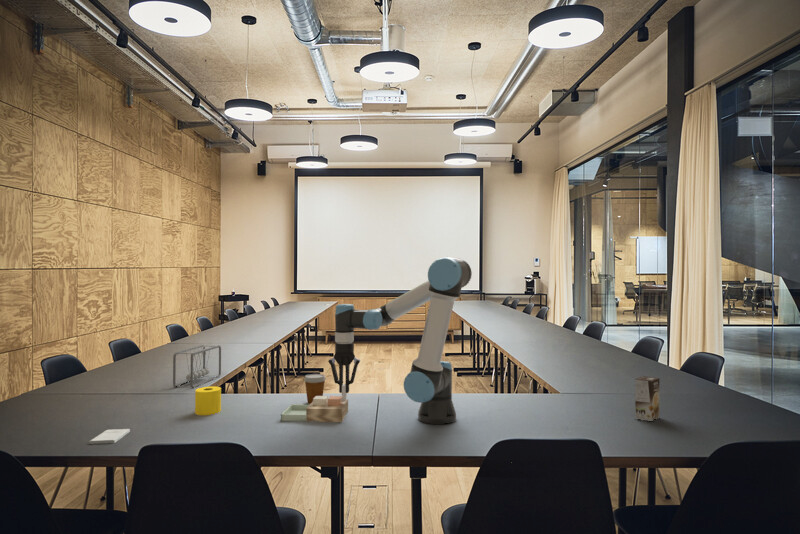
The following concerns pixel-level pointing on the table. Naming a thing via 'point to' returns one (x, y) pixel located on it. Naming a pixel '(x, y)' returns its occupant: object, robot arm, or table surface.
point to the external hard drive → (109, 436)
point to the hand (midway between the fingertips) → (344, 400)
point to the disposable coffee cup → (314, 386)
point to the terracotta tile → (335, 400)
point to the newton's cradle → (200, 372)
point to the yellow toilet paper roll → (207, 400)
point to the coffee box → (647, 398)
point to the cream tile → (320, 400)
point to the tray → (294, 413)
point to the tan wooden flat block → (326, 412)
